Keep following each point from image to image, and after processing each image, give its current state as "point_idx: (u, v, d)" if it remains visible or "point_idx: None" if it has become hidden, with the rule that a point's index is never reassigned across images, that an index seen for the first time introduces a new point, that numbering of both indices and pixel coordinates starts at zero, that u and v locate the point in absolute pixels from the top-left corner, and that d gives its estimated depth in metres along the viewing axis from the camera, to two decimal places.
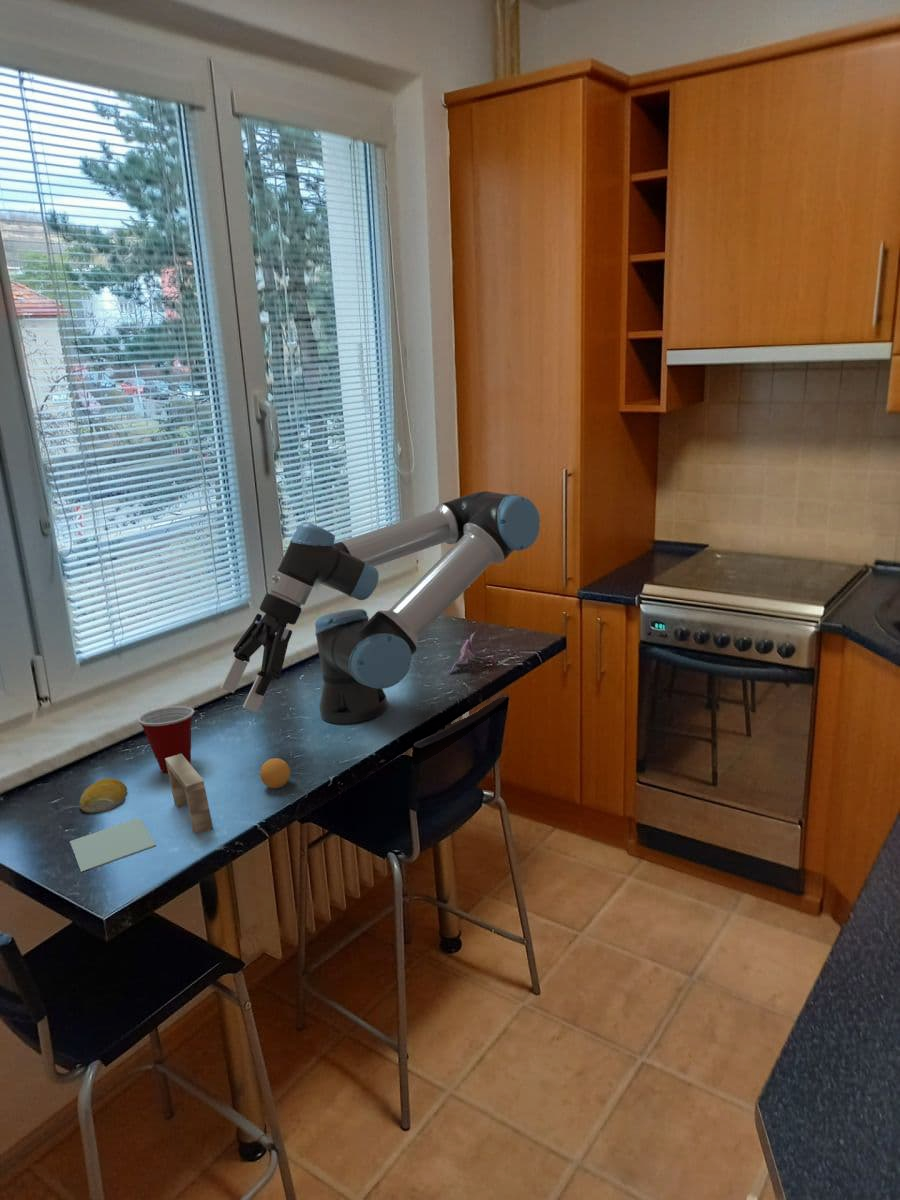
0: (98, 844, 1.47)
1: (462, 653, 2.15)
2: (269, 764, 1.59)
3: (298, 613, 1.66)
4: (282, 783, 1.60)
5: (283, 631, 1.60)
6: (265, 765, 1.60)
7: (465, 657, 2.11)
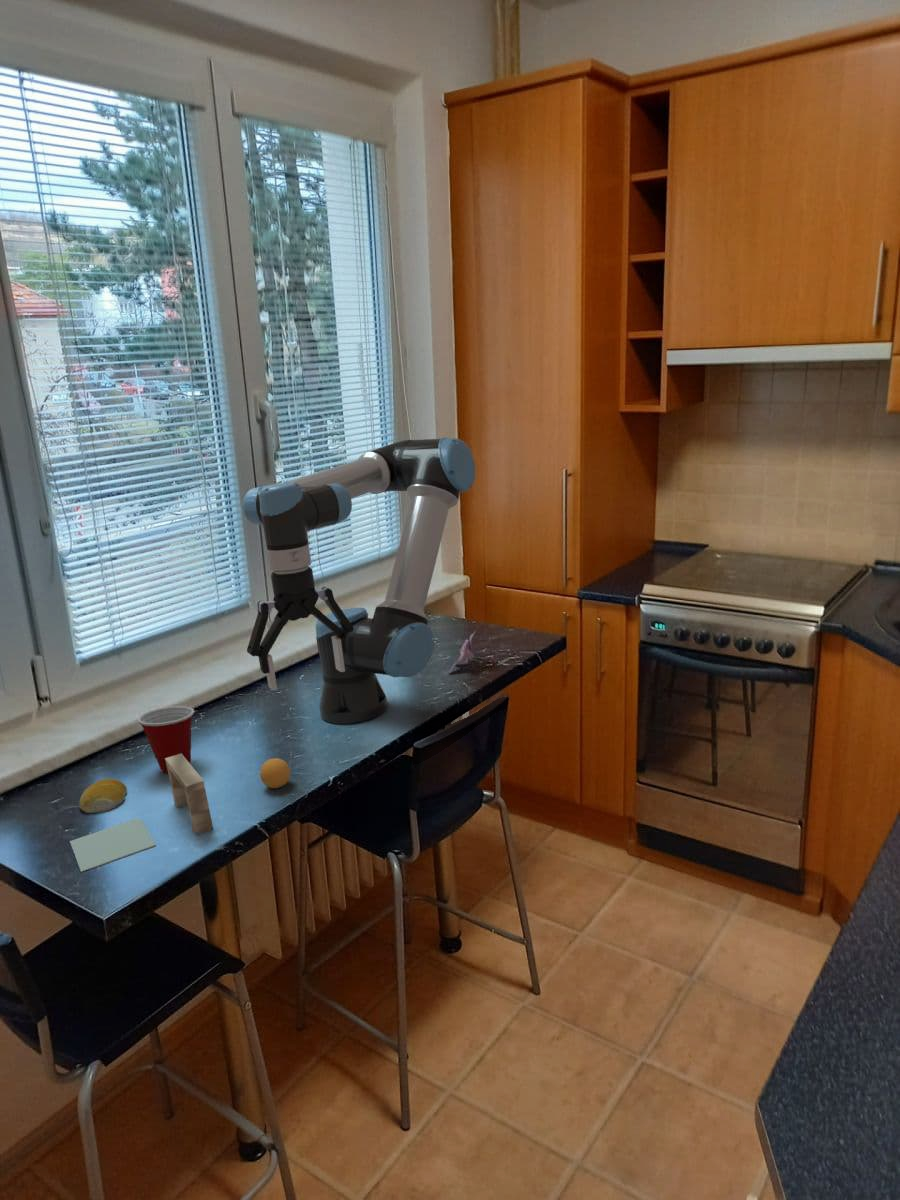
0: (98, 844, 1.47)
1: (462, 653, 2.15)
2: (269, 764, 1.59)
3: None
4: (282, 783, 1.60)
5: None
6: (265, 765, 1.60)
7: (465, 657, 2.11)
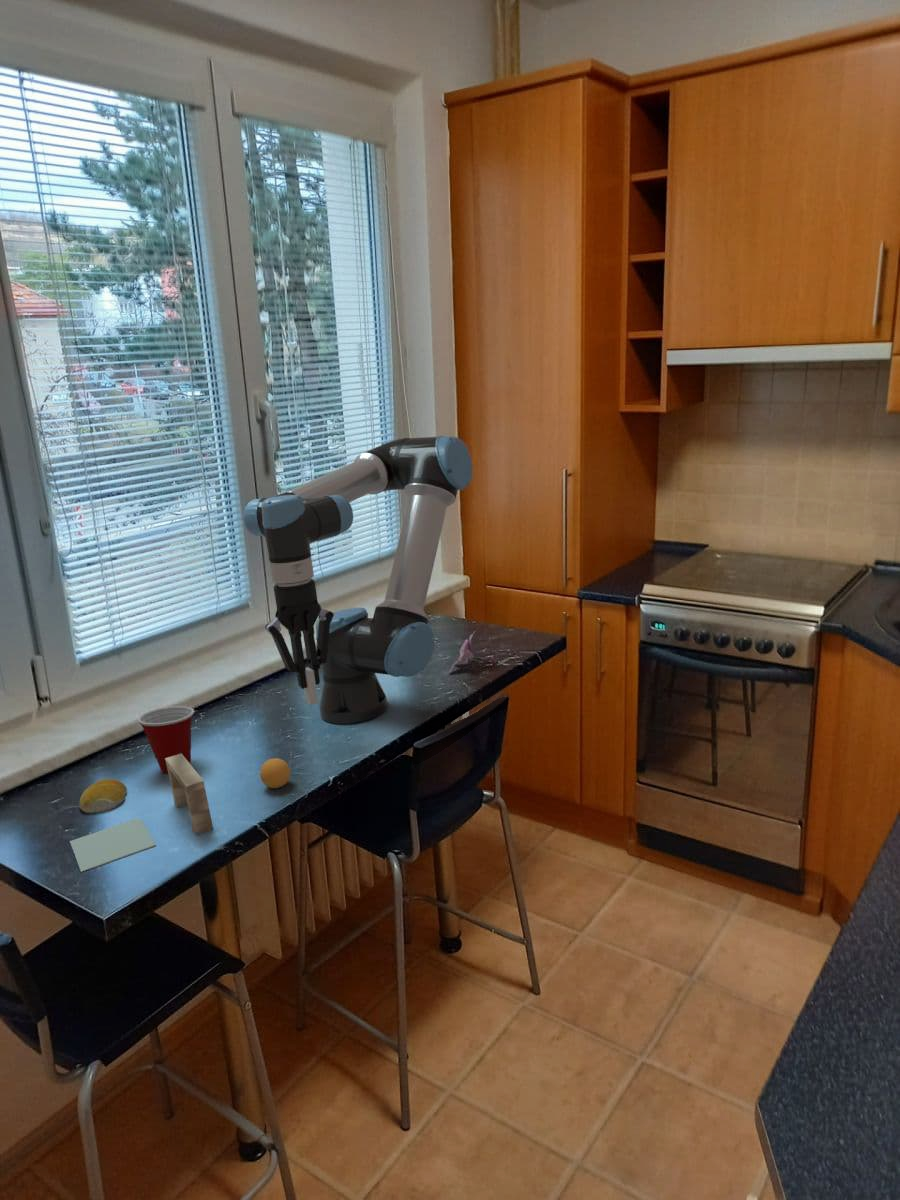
0: (98, 844, 1.47)
1: (461, 653, 2.15)
2: (269, 764, 1.59)
3: None
4: (282, 783, 1.60)
5: None
6: (265, 765, 1.60)
7: (464, 657, 2.11)
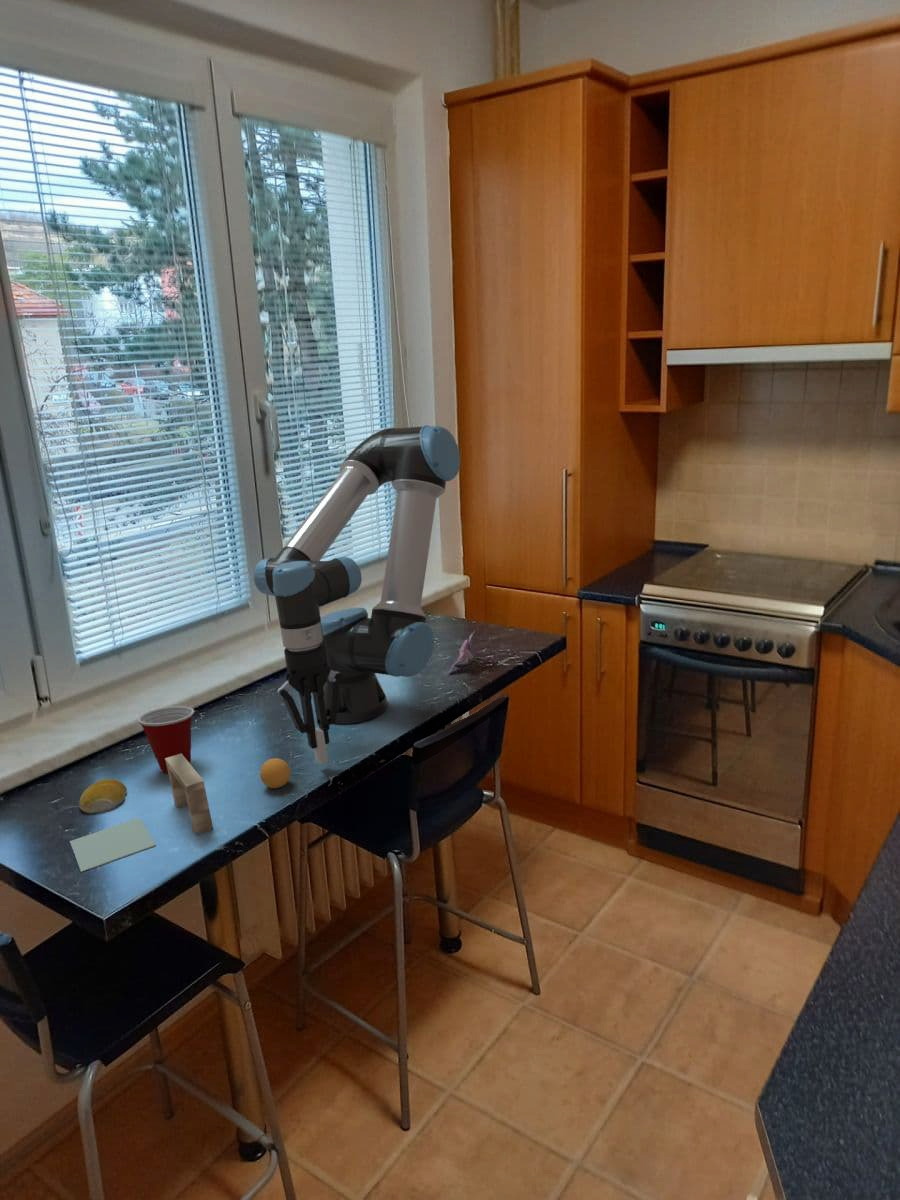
0: (98, 844, 1.47)
1: (461, 653, 2.15)
2: (269, 764, 1.59)
3: None
4: (282, 783, 1.60)
5: None
6: (265, 765, 1.60)
7: (464, 657, 2.11)
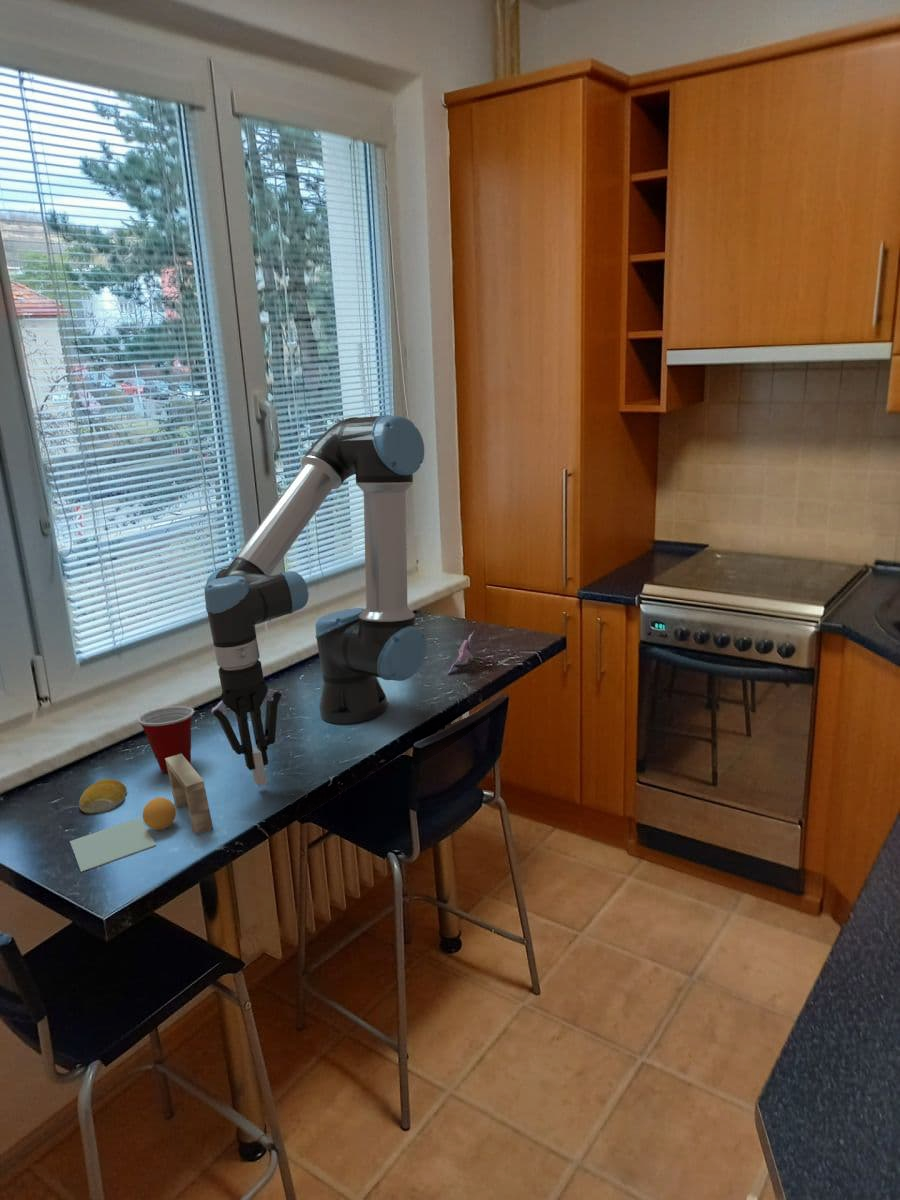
0: (98, 844, 1.47)
1: (460, 653, 2.15)
2: (146, 823, 1.49)
3: None
4: (170, 816, 1.49)
5: None
6: (146, 824, 1.49)
7: (463, 657, 2.10)
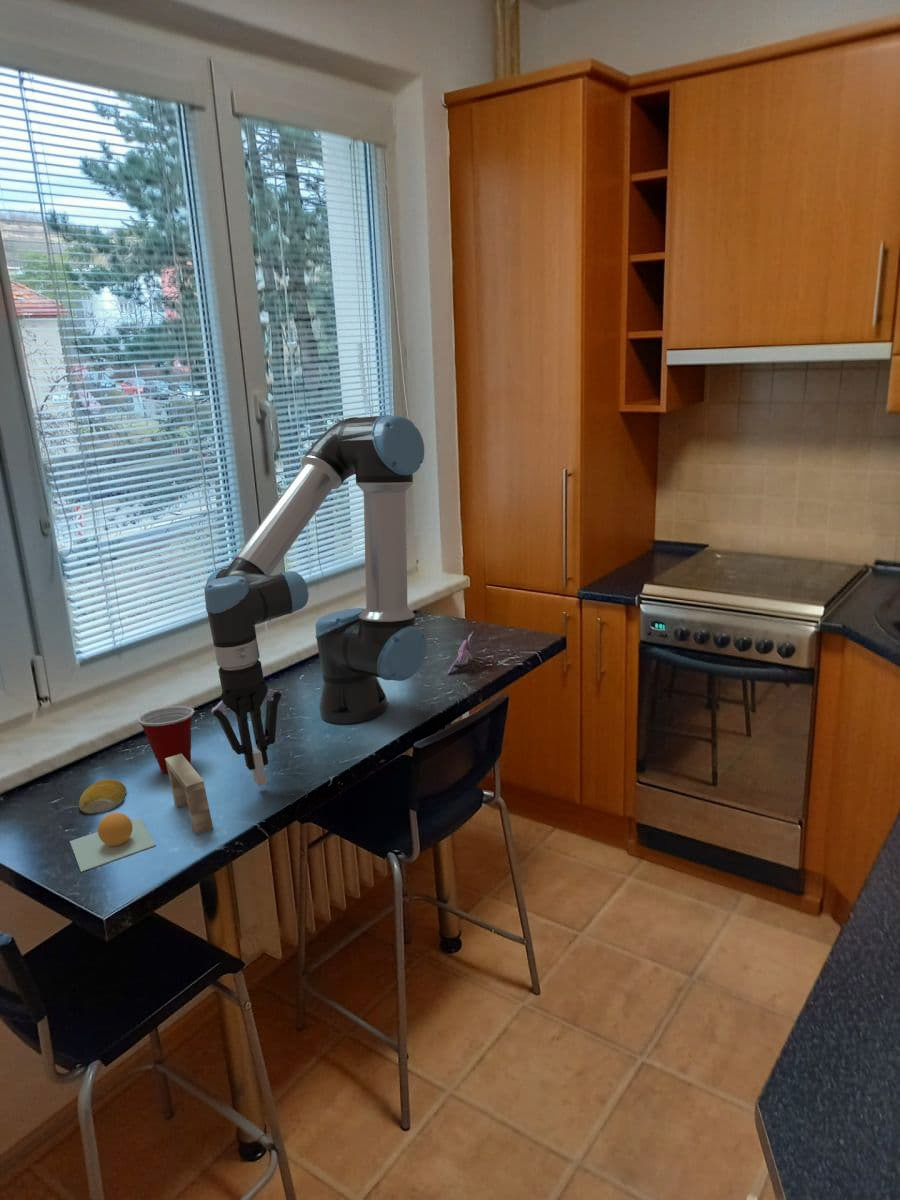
0: (98, 844, 1.47)
1: (460, 654, 2.14)
2: None
3: None
4: (109, 834, 1.44)
5: None
6: (131, 823, 1.48)
7: (463, 658, 2.10)
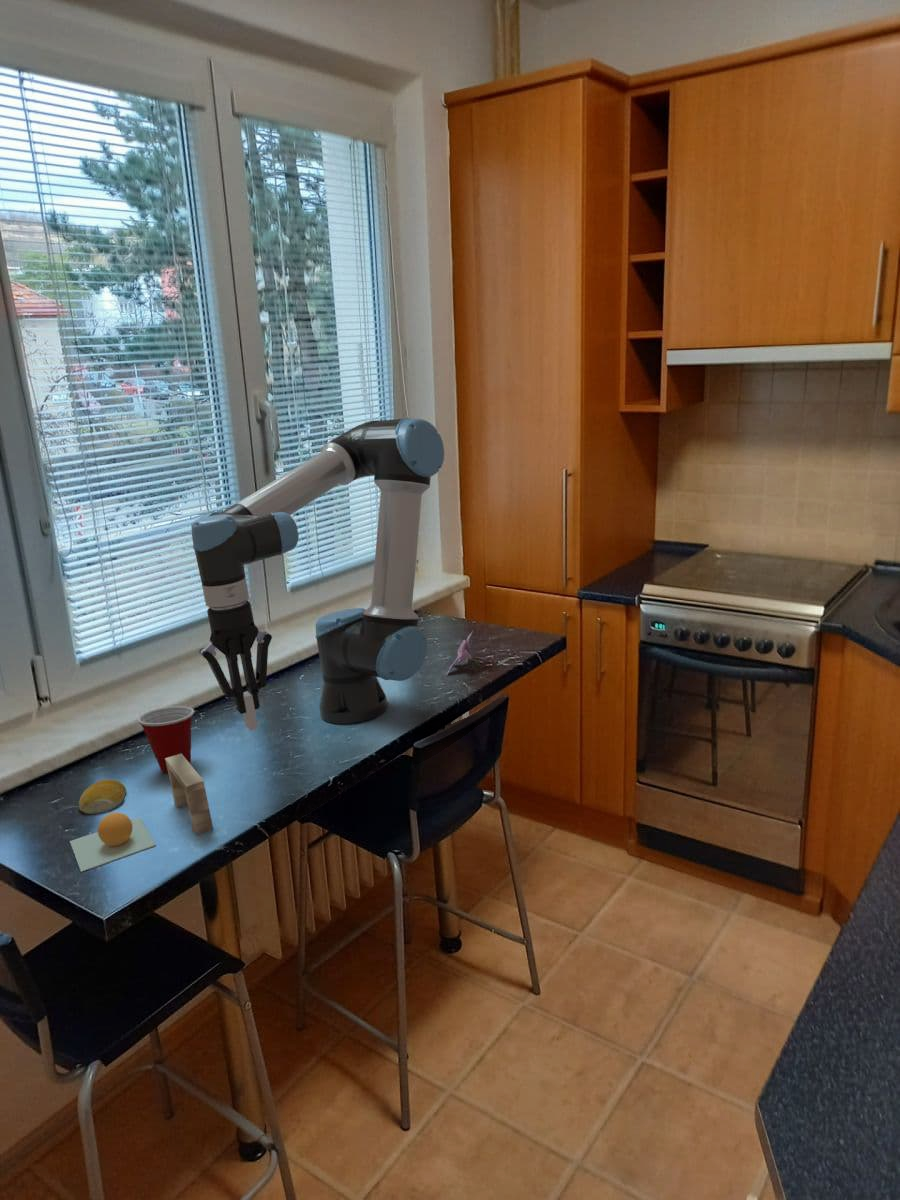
0: (98, 844, 1.47)
1: (459, 654, 2.14)
2: None
3: None
4: (109, 834, 1.44)
5: None
6: (131, 823, 1.48)
7: (462, 658, 2.10)
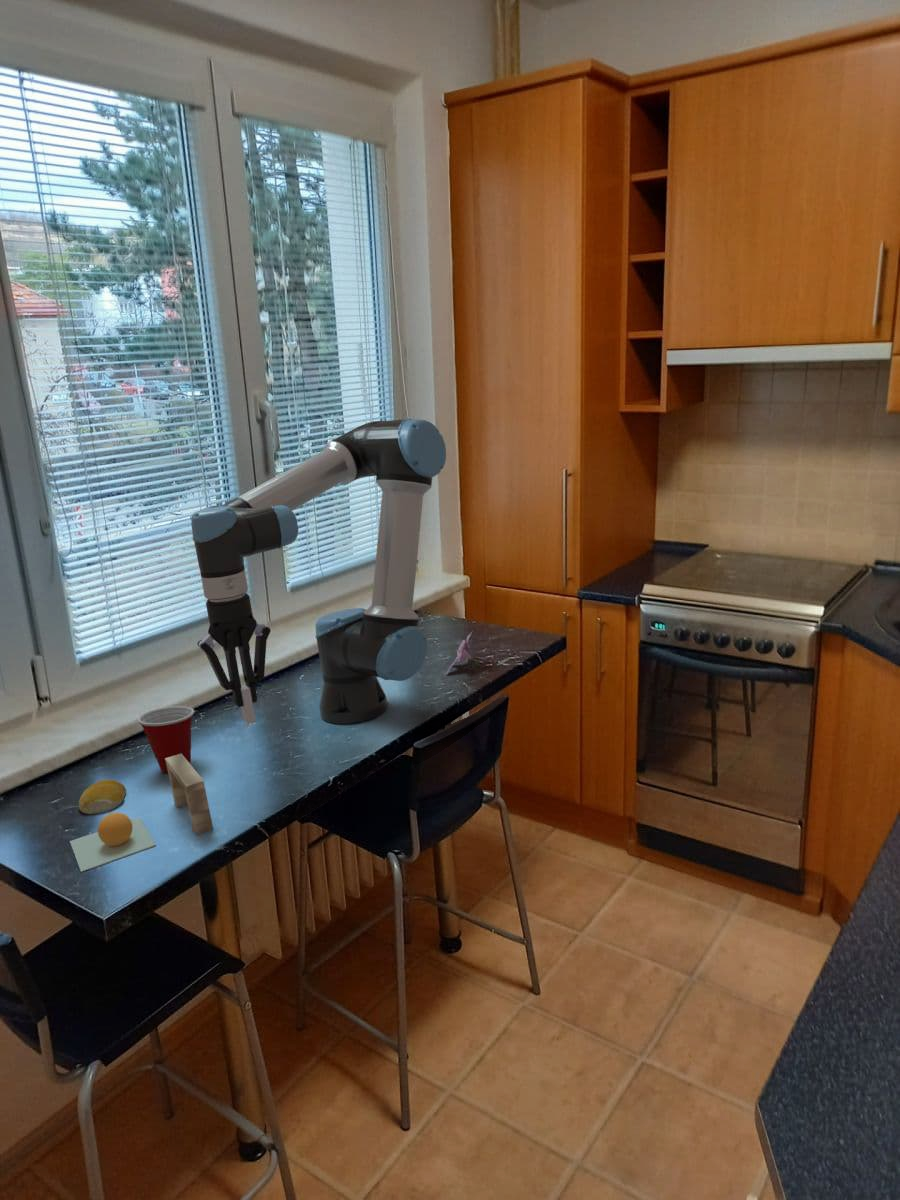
0: (98, 844, 1.47)
1: (458, 654, 2.14)
2: None
3: None
4: (109, 834, 1.44)
5: None
6: (131, 823, 1.48)
7: (462, 658, 2.10)
